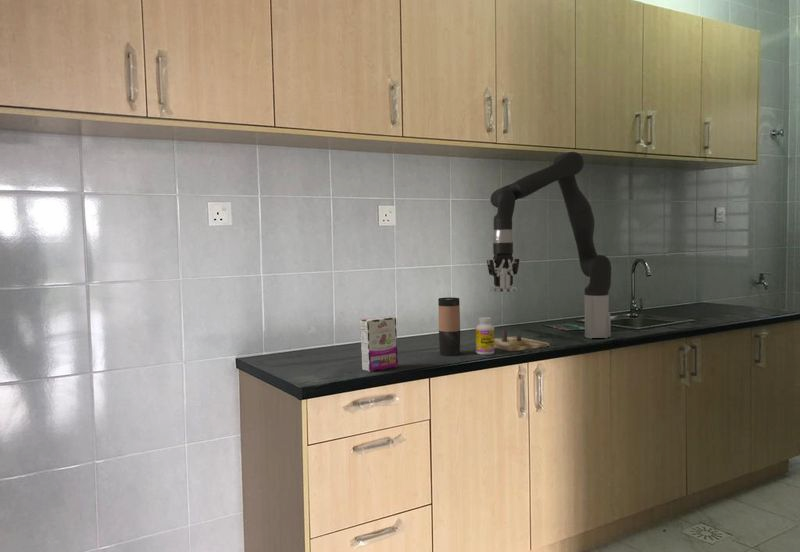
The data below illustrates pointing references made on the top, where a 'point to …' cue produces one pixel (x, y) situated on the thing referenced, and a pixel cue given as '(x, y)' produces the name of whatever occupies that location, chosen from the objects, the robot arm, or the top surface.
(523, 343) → the carrier board
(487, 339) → the supplement bottle
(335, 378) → the top surface
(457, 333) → the travel mug
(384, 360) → the candy bar box
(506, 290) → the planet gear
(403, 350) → the top surface
